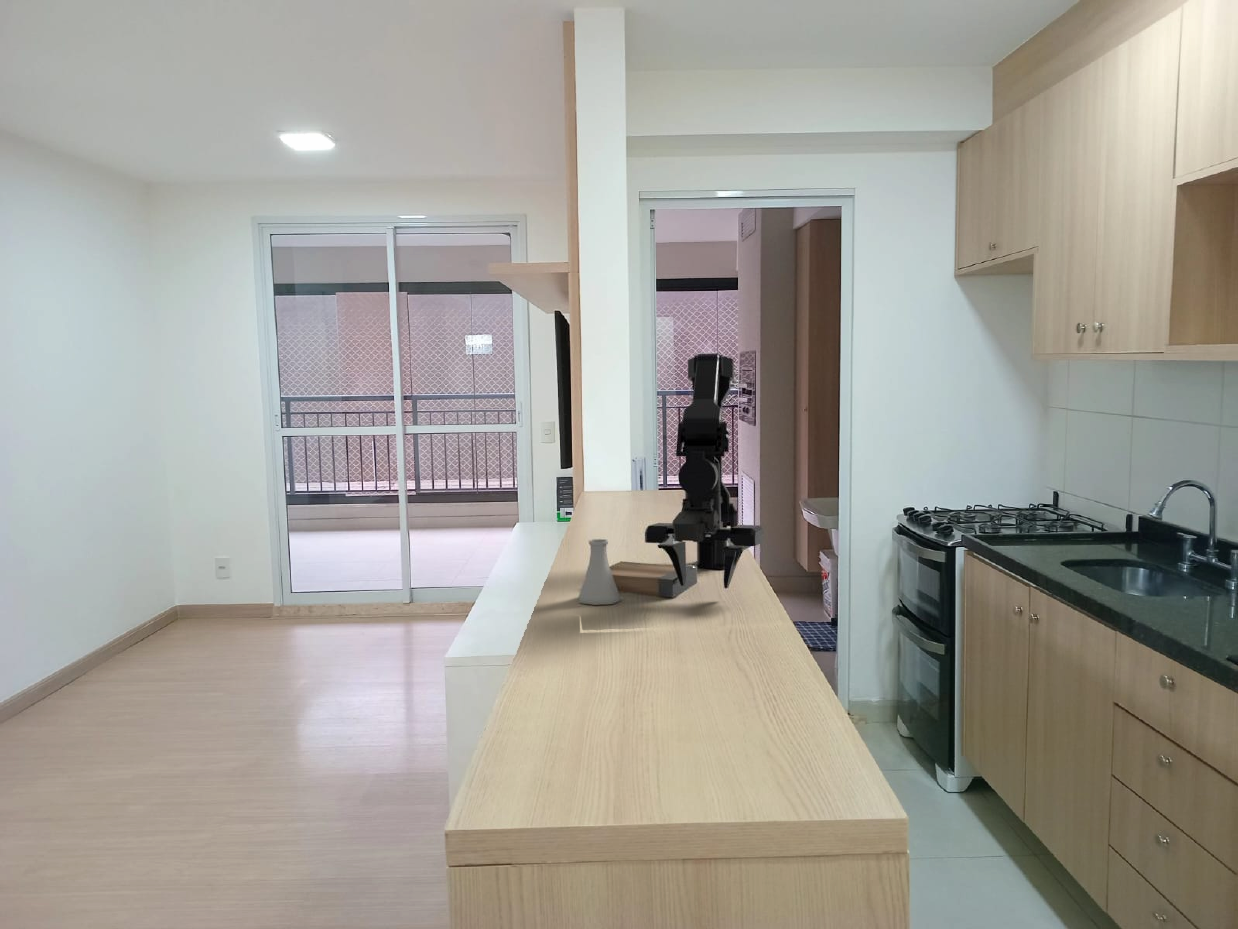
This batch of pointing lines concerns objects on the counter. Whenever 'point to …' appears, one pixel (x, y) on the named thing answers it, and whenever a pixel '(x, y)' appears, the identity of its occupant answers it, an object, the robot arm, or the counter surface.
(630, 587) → the tan square panel
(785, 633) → the counter surface
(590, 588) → the flask
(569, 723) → the counter surface
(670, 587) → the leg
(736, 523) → the robot arm
